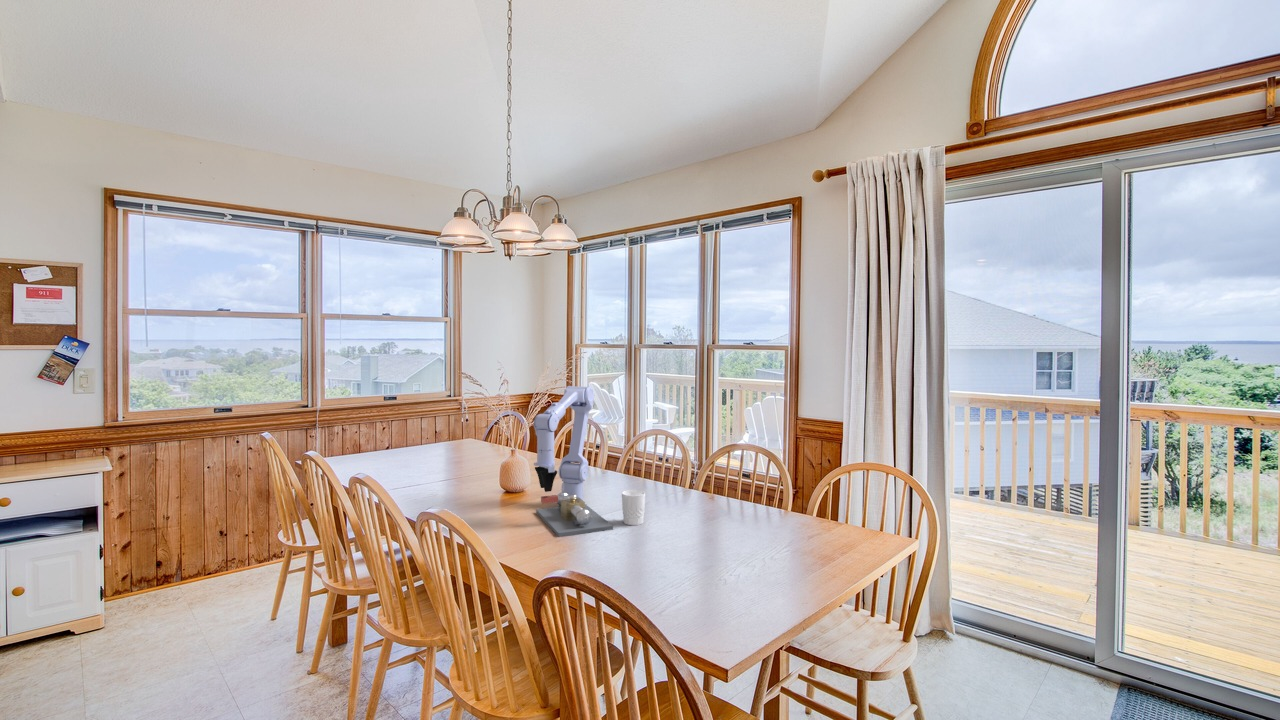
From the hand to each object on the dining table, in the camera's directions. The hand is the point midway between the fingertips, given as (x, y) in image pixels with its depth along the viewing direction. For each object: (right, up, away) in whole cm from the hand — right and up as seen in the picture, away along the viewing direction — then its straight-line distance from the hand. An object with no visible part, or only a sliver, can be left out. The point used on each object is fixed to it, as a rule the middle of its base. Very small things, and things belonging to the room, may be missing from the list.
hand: (545, 489), depth 195 cm
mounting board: (+9, -10, -1) cm, 14 cm away
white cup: (+30, -11, -2) cm, 32 cm away
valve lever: (+5, -3, -3) cm, 6 cm away
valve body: (+9, -9, -1) cm, 13 cm away
